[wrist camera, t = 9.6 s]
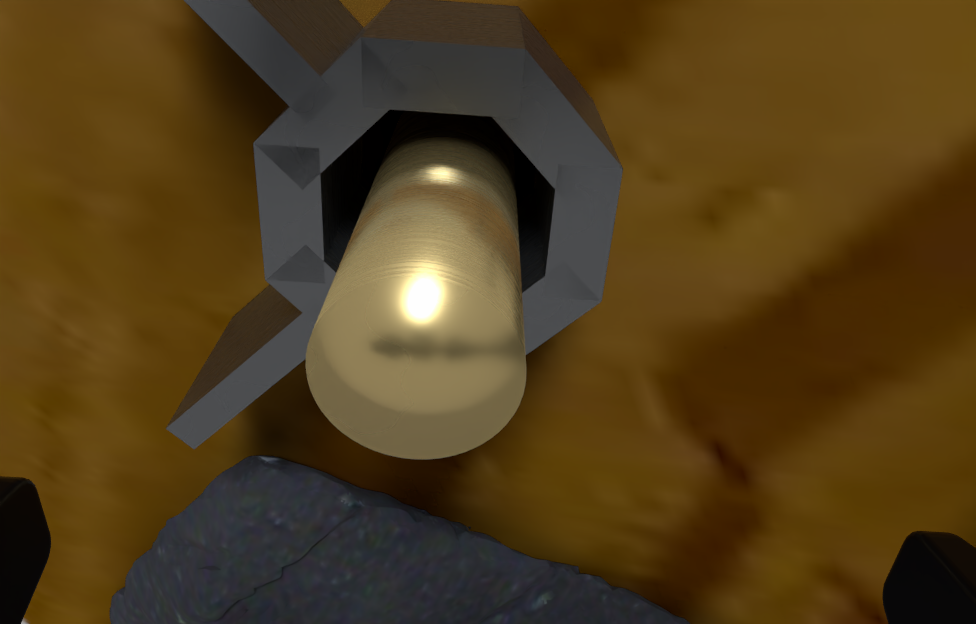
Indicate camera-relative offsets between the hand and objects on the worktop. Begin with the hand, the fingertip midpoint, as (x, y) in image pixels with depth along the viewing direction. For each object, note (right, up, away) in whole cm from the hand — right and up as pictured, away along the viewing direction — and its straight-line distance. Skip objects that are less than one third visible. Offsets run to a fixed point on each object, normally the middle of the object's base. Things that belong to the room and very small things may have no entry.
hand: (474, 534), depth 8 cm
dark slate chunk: (-2, -10, +21) cm, 24 cm away
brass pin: (-1, +6, +11) cm, 13 cm away
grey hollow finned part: (-4, +7, +11) cm, 13 cm away
